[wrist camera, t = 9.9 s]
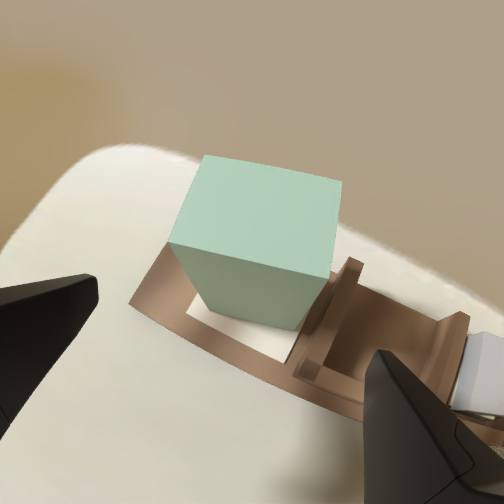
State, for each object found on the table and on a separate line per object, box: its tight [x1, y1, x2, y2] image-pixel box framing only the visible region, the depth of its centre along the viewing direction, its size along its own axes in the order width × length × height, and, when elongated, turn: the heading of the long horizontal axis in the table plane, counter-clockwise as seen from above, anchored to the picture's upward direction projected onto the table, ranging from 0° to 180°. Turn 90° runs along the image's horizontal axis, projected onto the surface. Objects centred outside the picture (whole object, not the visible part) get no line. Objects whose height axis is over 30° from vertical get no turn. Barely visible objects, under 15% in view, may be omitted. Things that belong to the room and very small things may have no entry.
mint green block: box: [167, 155, 342, 331], centre depth 15 cm, size 6×4×10 cm
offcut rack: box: [128, 242, 504, 447], centre depth 17 cm, size 30×8×4 cm, turn 63°
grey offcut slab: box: [451, 331, 504, 417], centre depth 14 cm, size 5×5×2 cm
